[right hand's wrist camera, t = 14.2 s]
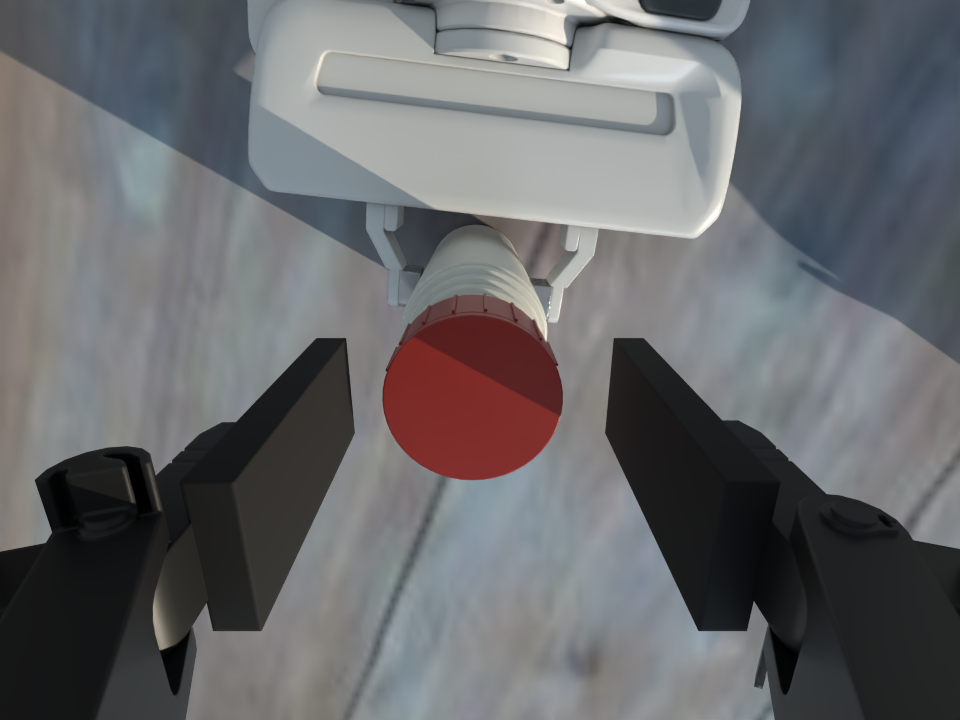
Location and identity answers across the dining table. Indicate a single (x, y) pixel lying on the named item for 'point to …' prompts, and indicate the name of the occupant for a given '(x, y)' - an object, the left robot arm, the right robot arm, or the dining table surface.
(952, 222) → the dining table surface
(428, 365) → the cap
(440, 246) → the bottle
